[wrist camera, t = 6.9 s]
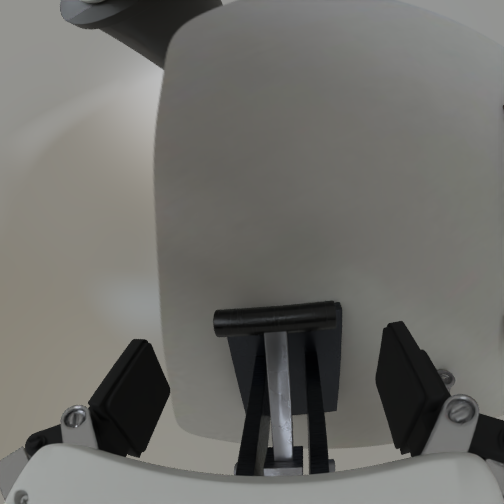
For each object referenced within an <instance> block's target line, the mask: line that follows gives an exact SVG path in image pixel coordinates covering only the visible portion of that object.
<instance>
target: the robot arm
mask: <svg viewBox="0 0 504 504" xmlns="http://www.w3.org/2000/svg"><path fill="white" fill-rule="evenodd" d="M80 1H82V2H84V3H97V2H102V1H105V0H80ZM376 386H377V389H378V392H379V395H380V398H381V401H382V404H383V408H384V411H385V414H386V417H387V421H388V424H389V427H390V431H391V434H392V438H393V442H394V445H395V448H396V449H399V448H400V451H401V454H402V455H403V454H406V453H409V452H410V453H411V457H410V458H406V459H402V460H397V461H392V462H388V463H384V464H379V465H374V466H369V467H364V468H358V469H351V470H345V471H338V472H330V473H321V474H311V475H296V476H237V475H223V474H222V475H221V474H212V473H203V472H195V471H188V470H181V469H175V468H170V467H165V466H160V465H155V464H151V463H146V462H142V461H138V460H134V459H130V458H126V456H127V454H128V455H131V456H134V457H138V458H139V457H140V455H141V453H142V452H144V451H145V450H146V448H147V445H148V443H149V441H150V438H151V436H152V434H153V431H154V429H155V427H156V425H157V422H158V420H159V417H160V415H161V413H162V411H163V408H164V406H165V404H166V402H167V399H168V397H169V395H170V387H169V384H168V382H167V380H166V378H165V376H164V373H163V371H162V369H161V366H160V364H159V362H158V360H157V357H156V355H155V352H154V350H153V347H152V345H151V344H150V343H148V341H147V340H145V339H133V340H132V341H131V342H130V344H129V345H128V346H127V348H126V349H125V351H124V352H123V353H122V355H121V356H120V357H119V359H118V360H117V362H116V363H115V364H114V366H113V367H112V369H111V370H110V371H109V373H108V374H107V376H106V377H105V378H104V380H103V381H102V383H101V384H100V386H99V387H98V389H97V390H96V391H95V393H94V394H93V396H92V397H91V399H90V400H89V402H88V404H89V405H90V407H89V408H88V409H87V407H85V406H83V405H75V406H72V407H70V408H68V409H67V410H65V412H64V413H63V415H62V417H61V424H59V425H57V426H54V427H51V428H48V429H45V430H43V431H39V432H37V433H34V434H32V435H31V436H30V437H29V438H28V439H27V441H26V444H25V448H24V447H21V448H19V449H18V450H16V451H15V452H13V453H11V454H10V455H8V456H7V457H5V458H3V459H2V460H0V490H1V492H2V495H3V497H4V499H5V502H4V504H504V421H503V420H500V419H496V418H493V417H490V416H486V415H483V414H480V413H479V406H478V404H477V402H476V401H475V400H474V399H473V398H472V397H470V396H468V395H464V394H457V395H453V396H451V395H450V393H449V391H448V389H447V388H446V386H445V384H444V382H443V380H442V379H441V377H440V375H439V373H438V372H437V370H436V368H435V366H434V365H433V363H432V361H431V360H430V358H429V356H428V355H427V353H426V352H425V350H420V348H419V347H418V345H417V343H416V342H415V340H414V338H413V337H412V335H411V334H410V332H409V330H408V329H407V327H406V326H405V324H404V322H403V321H399V322H393V323H389V324H388V325H387V327H386V328H384V329H383V334H382V341H381V348H380V355H379V361H378V366H377V372H376Z"/></svg>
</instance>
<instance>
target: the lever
mask: <svg viewBox="0 0 504 504" xmlns="http://www.w3.org/2000/svg"><path fill="white" fill-rule="evenodd" d="M336 323H337V318H336V308H335V303H334V301H324V302H315V303H305V304H294V305H283V306H270V307H257V308H242V309H224V310H216V311H215V313H214V319H213V324H214V331H215V334H216V336H217V337H239V336H260V335H264V339H265V351H266V364H267V376H268V389H269V402H270V415H271V428H272V441H273V447H268V448H267V453H266V457H265V462H264V467H263V473H264V476H296V475H303V446H294V447H293V422H292V401H291V382H290V365H289V349H288V335H287V334H289V333H301V332H311V331H321V330H330V329H335V328H336Z"/></svg>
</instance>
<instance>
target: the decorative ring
mask: <svg viewBox="0 0 504 504" xmlns="http://www.w3.org/2000/svg"><path fill="white" fill-rule="evenodd" d="M437 372H438V373H439V375H440V377H442V376H444V377H446V378H445V379H442V378H441V379H442V380H443V382H444V384H445V386H446V388H447V389H448V391H449V393H450V389H451V387H452V386H453V385H454V383H455V377H454V376H453V374H452V373H450V372H449V371H446V370H438V371H437ZM442 374H446V375H448V376H449V377H447V376H445V375H442ZM447 378H448V379H447Z"/></svg>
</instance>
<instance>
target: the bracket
mask: <svg viewBox="0 0 504 504" xmlns="http://www.w3.org/2000/svg"><path fill="white" fill-rule="evenodd" d="M335 308H336V318H337V323H336V328H335V329H330V330H321V331H311V332H301V333H289V334H287V335H288V349H289V365H290V382H291V401H292V415H300V414H307V420H308V450H309V475H311V474H321V473H330V472H335V461H334V459H328V447H327V435H326V425H325V415H324V412H332V411H337V401H338V390H339V377H340V361H341V338H342V308H341V305H340V302H336V303H335ZM227 338H228V343H229V347H230V352H231V356H232V360H233V364H234V369H235V373H236V377H237V381H238V385H239V389H240V393H241V397H242V401H243V405H244V409H245V413H246V418H245V423H244V429H243V435H242V440H241V446H240V451H239V457H238V462H237V463H236V464H235V467H234V475H237V476H264V473H263V467H264V462H265V457H266V453H267V448H268V439H269V429H270V417H271V415H270V402H269V389H268V376H267V364H266V351H265V339H264V335H260V336H239V337H227Z"/></svg>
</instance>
